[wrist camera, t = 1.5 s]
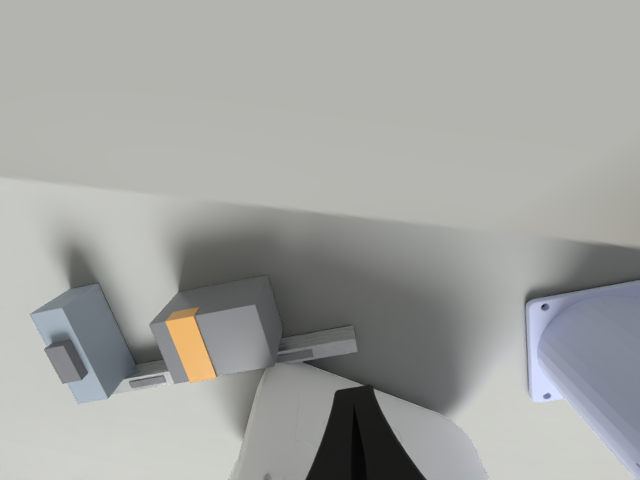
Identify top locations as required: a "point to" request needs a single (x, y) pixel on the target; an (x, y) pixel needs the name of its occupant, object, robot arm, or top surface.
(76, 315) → the end clamp
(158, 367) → the rail
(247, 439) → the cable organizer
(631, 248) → the top surface
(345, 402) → the robot arm
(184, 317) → the module
